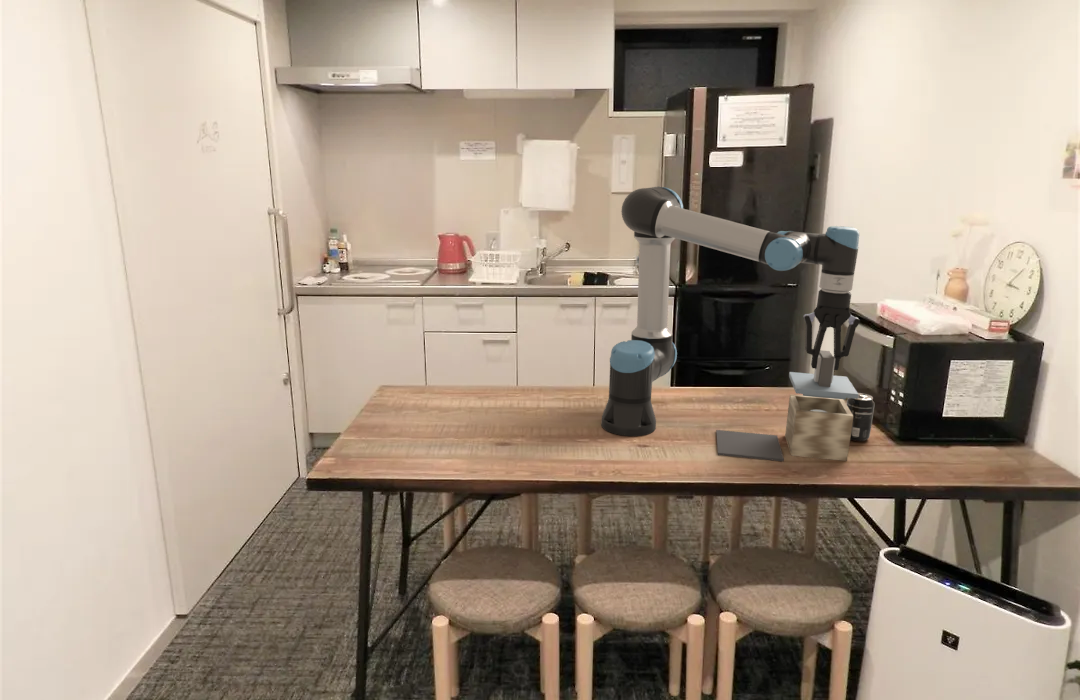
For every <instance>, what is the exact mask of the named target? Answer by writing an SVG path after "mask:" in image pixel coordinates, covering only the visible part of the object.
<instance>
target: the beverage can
mask: <svg viewBox="0 0 1080 700" xmlns="http://www.w3.org/2000/svg"><path fill="white" fill-rule="evenodd" d="M857 393H858V399H855V398H846V399H847V400H846V404H847V406H848V408H849V409H850V411H851V413H852V415H853V423H852V430H851V437H850V441H853V442H865V441H867V440H869V439H870V437H871V431H872V425H873V418H874V411H875V402H874V401H873V399H874V397H873V396H872V395H870V394H867V393H863V392H862V393H861V392H857Z"/></svg>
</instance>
